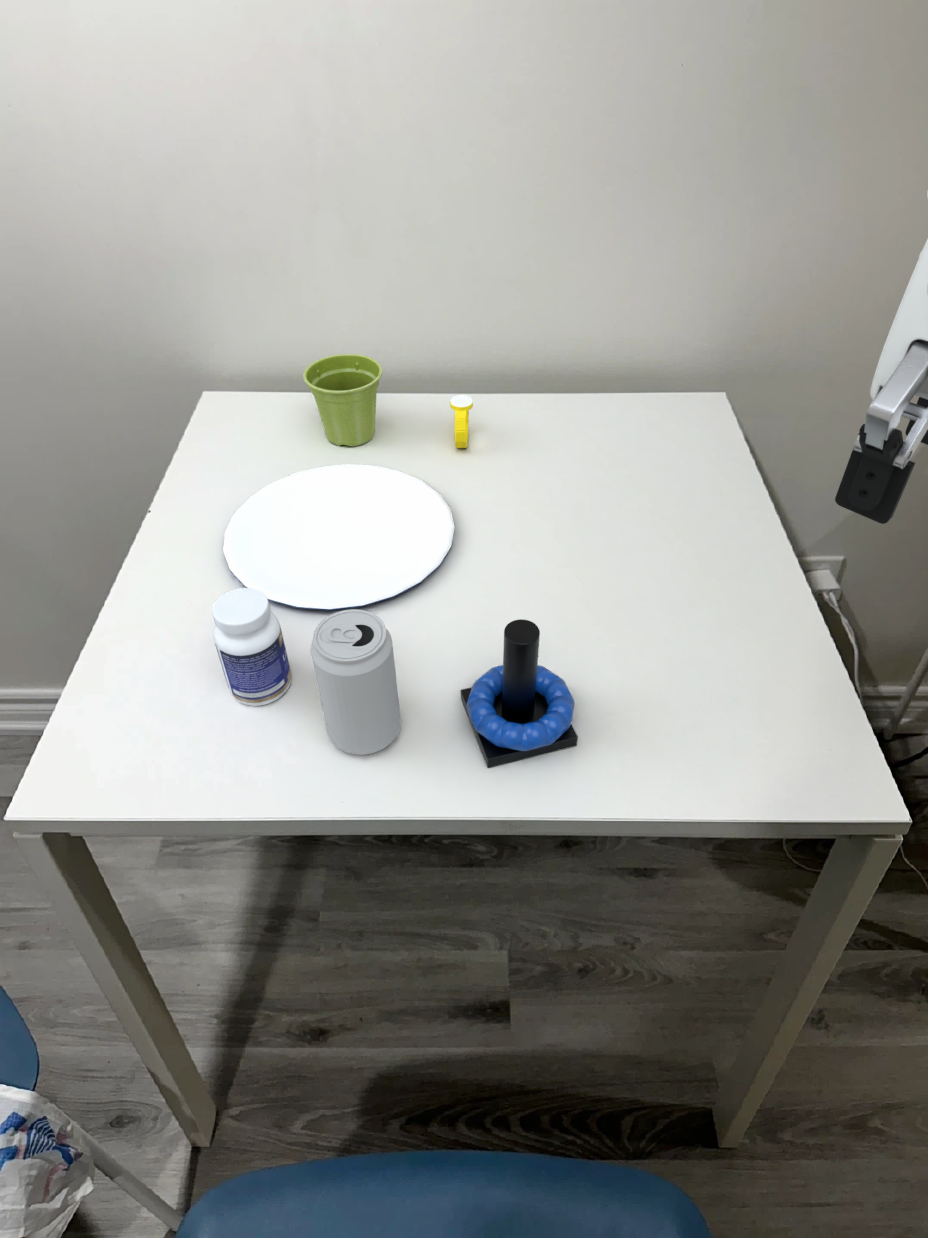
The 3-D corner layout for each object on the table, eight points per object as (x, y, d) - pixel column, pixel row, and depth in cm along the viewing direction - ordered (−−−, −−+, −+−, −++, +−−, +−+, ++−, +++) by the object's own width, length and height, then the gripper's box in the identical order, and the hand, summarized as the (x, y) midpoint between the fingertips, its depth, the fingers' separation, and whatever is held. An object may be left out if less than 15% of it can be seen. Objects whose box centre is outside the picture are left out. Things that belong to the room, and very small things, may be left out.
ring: (550, 665, 78) (551, 648, 76) (588, 740, 71) (591, 724, 70) (455, 687, 76) (455, 670, 74) (486, 766, 70) (486, 750, 68)
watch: (452, 429, 108) (451, 387, 104) (474, 429, 108) (474, 387, 104) (449, 455, 104) (448, 412, 100) (472, 456, 104) (471, 413, 100)
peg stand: (544, 678, 78) (551, 588, 70) (577, 745, 72) (589, 656, 65) (460, 698, 76) (458, 608, 69) (487, 768, 71) (488, 679, 63)
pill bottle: (304, 685, 78) (288, 606, 71) (251, 718, 75) (228, 640, 68) (269, 652, 81) (250, 573, 74) (217, 683, 78) (191, 604, 71)
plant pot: (299, 432, 108) (288, 369, 102) (360, 407, 112) (354, 345, 106) (339, 464, 103) (330, 400, 97) (402, 437, 107) (397, 374, 101)
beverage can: (398, 760, 72) (388, 664, 63) (322, 759, 72) (302, 663, 63) (404, 702, 76) (394, 605, 68) (332, 701, 76) (314, 604, 68)
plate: (183, 594, 87) (180, 585, 86) (278, 459, 104) (276, 450, 103) (419, 634, 82) (418, 625, 81) (477, 486, 100) (477, 477, 99)
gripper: (1047, 245, 33) (897, 573, 45) (1163, 145, 42) (1012, 441, 54) (864, 201, 37) (770, 514, 49) (1006, 118, 46) (897, 400, 58)
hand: (897, 476), depth 52 cm, fingers open, 9 cm apart
